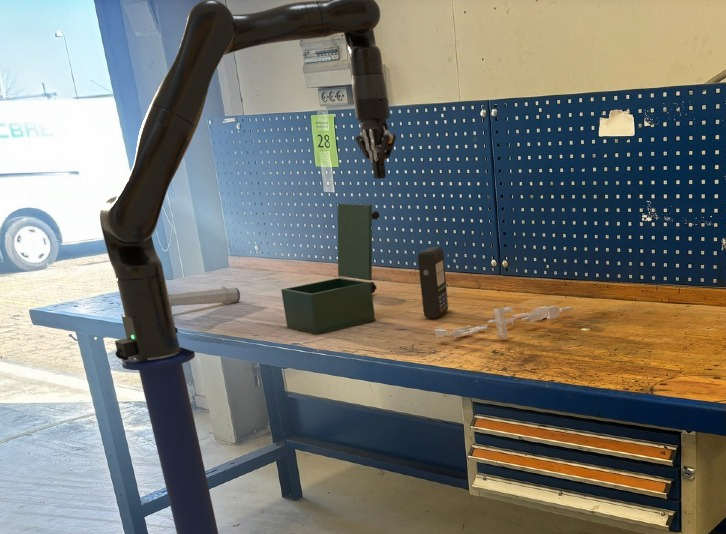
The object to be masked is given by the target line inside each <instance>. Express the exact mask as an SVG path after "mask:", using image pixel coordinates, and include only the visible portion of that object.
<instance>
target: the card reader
mask: <svg viewBox="0 0 726 534" xmlns="http://www.w3.org/2000/svg"><path fill="white" fill-rule="evenodd" d="M444 256H445V255H444V250H443V248H442V247H441V246H431V247H427V248H426V249H424V250H422V251H420V252H419V253H418V255H417V263H418V272H419V273H418V274H419V283H420V292H421V301H422V311H423V315H424V317H425V319H438V318H440V317H441V316H442V315H443V314H445V313H446V312H447V311H448V309H449V303H448V302H449V299H448V297H449V296H448V291H447V280H446V268H445V257H444Z"/></svg>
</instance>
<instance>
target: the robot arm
mask: <svg viewBox="0 0 726 534" xmlns="http://www.w3.org/2000/svg"><path fill="white" fill-rule="evenodd" d="M380 19H381V9H380V6H379V4H378V3H377V1H376V0H308V1H297V2H291V3H287V4H282V5H279V6H275V7H272V8H269V9H266V10H265V9H264V10H261V11H258V12H251V13H241V14H234V13H233V14H232V12H231V10H230V8H228V7H227V6H226V5H225V4H224V3H223V2H221V1H219V0H201V1H200V2H198V3H196V4H195V5H194V6H193V7H191V9H190V11H189V12H188V16H187V20H186V25H185V27H184V32H183V35H182V38H181V41H180V45H179V48H178V50H177V54H176V56H175V57H174V61H172V62H173V63H172V64H171V65H170V67H169V69H168V71H167V72H166V74H165V75H164V78H163V79H162V81H161V83H160V85H159V86H158V88H157V90H156V92H155V95H154V96H153V99H152V101H151V102H150V105H149V107H148V109H147V112H146V115H145V116H144V118H143V120H142V124H141V127H140V130H139V134H138V139H137V144H136V151H135V157H134V162H133V166H132V169H131V171H130V173H129V176H128V178H127V179H126V182H125V184H124V185H123V187H122V189H121V191H120V192H119V195H117V196H113V197H110V198H109V199H108V200H105V202H104V203H103V204H102V206H101V209H100V211H99V223H100V229H101V232H102V236H103V240H104V245H105V248H106V252H107V257H108V259H109V263H110V265H111V267H112V269H113V271H114V272H113V273H114V275H115V279H116V283H117V288H118V293H119V296H120V300H121V305H122V309H123V313H124V314H122V315H121V320H122V324H123V325H122V326H123V328H124V333H125V337H126V338H121V339H117V340H114V344H115V348H116V351H115V357H116V358H118V360H119V359H120V360H128V357H130V356H131V359H133V360H136V361H139V362H141V363H144V362H150V361H159V360H165V359H169V358H172V357H175V356H177V355H179V354H181V349H180V347H181V346H180V342H179V337H178V334H179V331H178V327H176V324H175V320H174V314H173V310H172V309H171V307H172V306H171V305H170V300H169V296H168V294H169V292H168V287H167V281H166V277H165V273H164V272H165V271H164V268H163V263H162V261H161V258H160V257H159V255H158V253H157V251H156V248H155V244H154V240H153V236H152V235H154V233H155V231H156V228H157V227H158V222H159V219H160V215H161V212H162V209H163V206H164V202H165V198H166V196H167V195H166V194H167V192H168V190H169V188H170V185H171V183H172V182H173V181H172V180H173V179H174V177H175V175H176V173H177V171H178V169H179V168H180V165H181V164H182V161H183V159H184V156H185V154H186V152H187V151H188V148H189V146H190V144H191V142H192V139H193V137H194V134H195V132H196V130H197V128H198V125H199V123H200V120H201V117H202V113H203V111H204V107H205V103H206V99H207V96H208V92H209V88H210V84H211V81H212V79H213V76H214V74H215V72H216V70H217V69H218V66H219V64H220V62H221V61H222V59H223V57H224V56H225V55H228V54H229V55H230V54H232V53H234V52H238V51H241V50H245V49H250V48H252V47H253V48H255V47H257V46H263V45H268V44H274V43H282V42H283V43H284V42H292V41H293V42H294V41H301V40H309V39H311V40H312V39H320V38H326V37H331V36H334V35H336V34H343V35H344V36H343V37H344V39H345V44H346V47H347V50H348V55H349V67H350V72H351V91H352V98H353V107H354V115H355V119H356V121H358V122H360V128H359V129H360V134H359V135H356V136H355V138H354V139H355V142H356V143H357V145H358V148H359V149H360V151H361V152H362V154H363V156H364V157H365V159H369V161H370V162H371V163H372V164H371V165H372V174H373V178H374V179H375V180H380V179H385V178H386V177H387V176H386V165H385V161H386V160H387V159H389V158H391V154H392V152H393V148H394V145H395V142H396V139H397V136H396V134H395V133H391V132H390V131H389V126H388V124H387V120H388V119H389V118H390V116H391V115H390V109H389V100H388V99H389V97H388V89H387V83H386V79H385V74H384V66H383V65H384V64H383V57H382V53H381V49H380V48H379V47H378V46H377V43H376V37H375V31H374V29H375V28H376V27H377V25H378V24H379V22H380Z"/></svg>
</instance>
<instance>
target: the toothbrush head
mask: <svg viewBox="0 0 726 534" xmlns="http://www.w3.org/2000/svg"><path fill="white" fill-rule="evenodd" d="M168 296H169V300H170V305H171V310H172V309H173V308H172V307H177V306H178V307H179V306H193V305H195V306H196V305H210V304H223V305H228V304H229V303H239V302H240V299H241V292H240V289H239V288H238V287H227V286H221V287H220V288H213V289H204V290H203V289H202V290H194V291H193V290H192V291H185V292H177V293H168Z"/></svg>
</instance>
